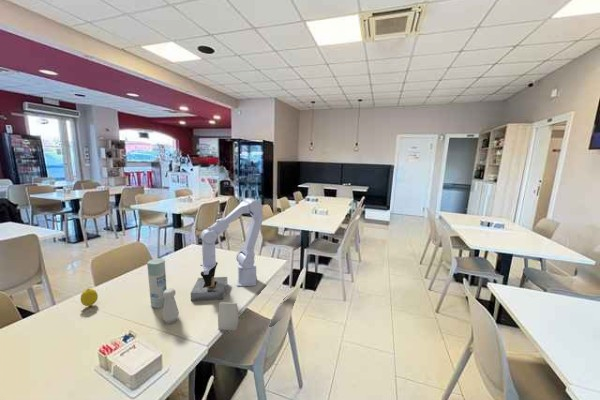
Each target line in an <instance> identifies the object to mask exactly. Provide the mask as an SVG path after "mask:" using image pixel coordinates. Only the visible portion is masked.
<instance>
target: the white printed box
mask: <svg viewBox="0 0 600 400" xmlns="http://www.w3.org/2000/svg"><path fill="white" fill-rule="evenodd" d="M238 326H239V307H238V303H236V302H219V303H218V313H217V330H224V331H225V330H226V331H237V329H238Z"/></svg>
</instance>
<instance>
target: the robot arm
mask: <svg viewBox="0 0 600 400" xmlns="http://www.w3.org/2000/svg"><path fill="white" fill-rule="evenodd" d="M263 208H264V205H263V204H262V203H261V202H260V201H259V200H256V199H254V198H252V197H246V198H245V199H244V200H242V201H241V202H240V203H239V204H238V205H237V206H236V207H235V208H234V209H232V211H231V212H229V213H228V214H227V215H226V216H225V217H223V218H222V217H221V218H219V219H217V218H216V220H215V222H214V223H213V224H212V225H211V226H208V227H207V228H204V229H203V230H202V232H201V233H200V235H199V236H200V237H199V238H200V239H201V240H202V242H201V243H202V245H201V248H202V249H201V250H202V253H201V254H202V262H201V263H200V264H199V266H200V267H202V269H203V271H201V272H200V276H201V278H203V279H204V282H205V285H206V286H211V281H212V277H215V276H216V275H215V274H216V269H217V266H218V264H219V263H218V262H216V261H217V260H216V241H217V239H218V237H219V236H220V235H221V234H223V233H224V232H225V231H226V230H228V228H230V227H229V226H230V225H229V224H231V223H232V222H234V221H235V220H236V219H237V218H239V217H240V216H241V215H243V214H250V216H251V220H250V224H249V227H248V231H247V234H246V237H245V241H244V243H243V246H242V247H241V248H240V250H239V252H238V253H237V255H236V256H235V257H236V261H237V263H238V265H237V271H238V272H237V273H238V274H237V276H238V278H237V283H236V286H237V287H247V286H248V287H251V286H253V287H254V286H257V280H258V276H257V265H255V257H256V254H255V246H256V243H257V240H258V236H259V234H260V231H261V227H262V225H263V224H262V223H263V220H264V218H265V217H264V211H263Z"/></svg>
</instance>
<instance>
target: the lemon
mask: <svg viewBox="0 0 600 400" xmlns="http://www.w3.org/2000/svg"><path fill="white" fill-rule="evenodd" d="M98 298H99V297H98V293H97V291H96V290H95V289H93V288H87V289H85V290H84V291H83V292H82V293H81V295H80V303H81V304H82V306H85V307H92V306H93V305H94V304H96V302H97V301H98Z"/></svg>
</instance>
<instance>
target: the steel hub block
mask: <svg viewBox="0 0 600 400" xmlns="http://www.w3.org/2000/svg"><path fill="white" fill-rule="evenodd" d="M214 284H215V287H206V285H205V282H204V279H203V277H198V278H197V280H196V281H195V284H194V286H193V288H192V289H191V292H190V301H191V302H199V301H202V302H203V301H218V300H219V301H220V300H224V298H225V295H226V291H227V288H228V276H217V277H216V276H214Z"/></svg>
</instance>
